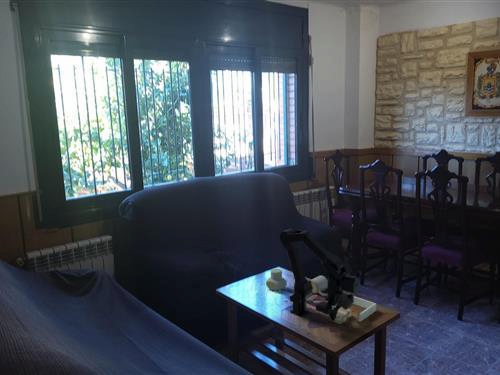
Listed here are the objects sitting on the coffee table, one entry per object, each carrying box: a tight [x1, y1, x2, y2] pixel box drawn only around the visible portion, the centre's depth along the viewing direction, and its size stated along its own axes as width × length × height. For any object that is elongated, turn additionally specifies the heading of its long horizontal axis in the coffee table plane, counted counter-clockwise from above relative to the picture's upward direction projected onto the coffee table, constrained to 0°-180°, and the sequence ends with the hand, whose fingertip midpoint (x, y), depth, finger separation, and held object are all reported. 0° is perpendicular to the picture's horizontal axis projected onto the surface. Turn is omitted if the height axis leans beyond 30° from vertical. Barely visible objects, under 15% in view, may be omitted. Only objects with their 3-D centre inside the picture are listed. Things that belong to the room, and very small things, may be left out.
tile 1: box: [329, 311, 347, 325], centre depth 190 cm, size 5×5×3 cm
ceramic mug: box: [310, 275, 328, 297], centre depth 218 cm, size 11×8×8 cm
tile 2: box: [338, 307, 352, 320], centre depth 193 cm, size 5×5×3 cm
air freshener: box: [265, 268, 288, 292], centre depth 223 cm, size 11×8×10 cm
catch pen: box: [352, 296, 377, 322], centre depth 199 cm, size 14×17×4 cm
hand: (333, 320), depth 187 cm, fingers closed
